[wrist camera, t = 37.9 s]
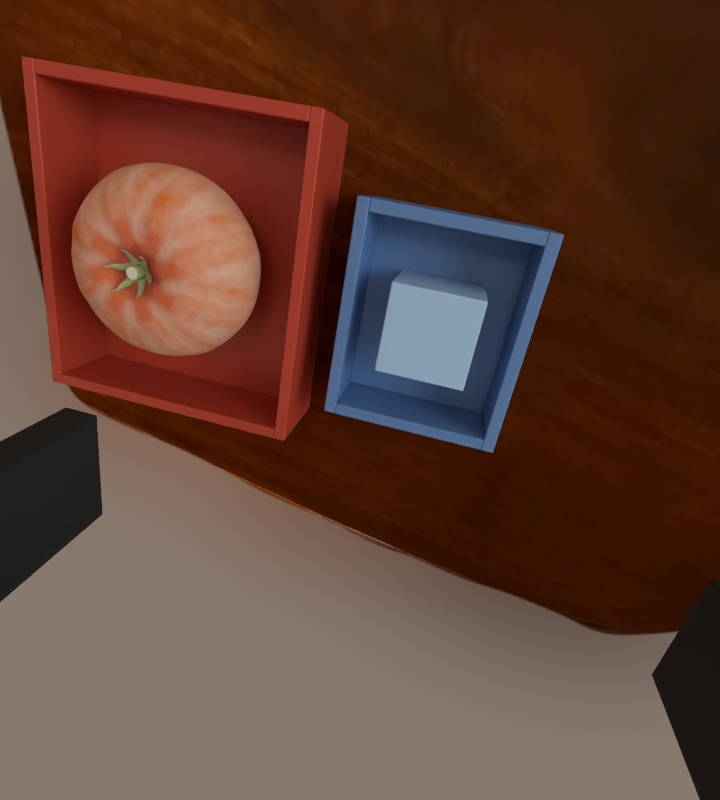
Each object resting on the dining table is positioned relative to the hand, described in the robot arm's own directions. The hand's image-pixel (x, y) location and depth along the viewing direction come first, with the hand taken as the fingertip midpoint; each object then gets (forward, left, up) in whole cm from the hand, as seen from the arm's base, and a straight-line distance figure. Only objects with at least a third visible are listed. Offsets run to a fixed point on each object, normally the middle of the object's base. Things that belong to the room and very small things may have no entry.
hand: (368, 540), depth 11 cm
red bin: (-16, 0, -23) cm, 27 cm away
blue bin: (0, 0, -23) cm, 23 cm away
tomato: (-16, +1, -22) cm, 27 cm away
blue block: (0, 0, -22) cm, 22 cm away
